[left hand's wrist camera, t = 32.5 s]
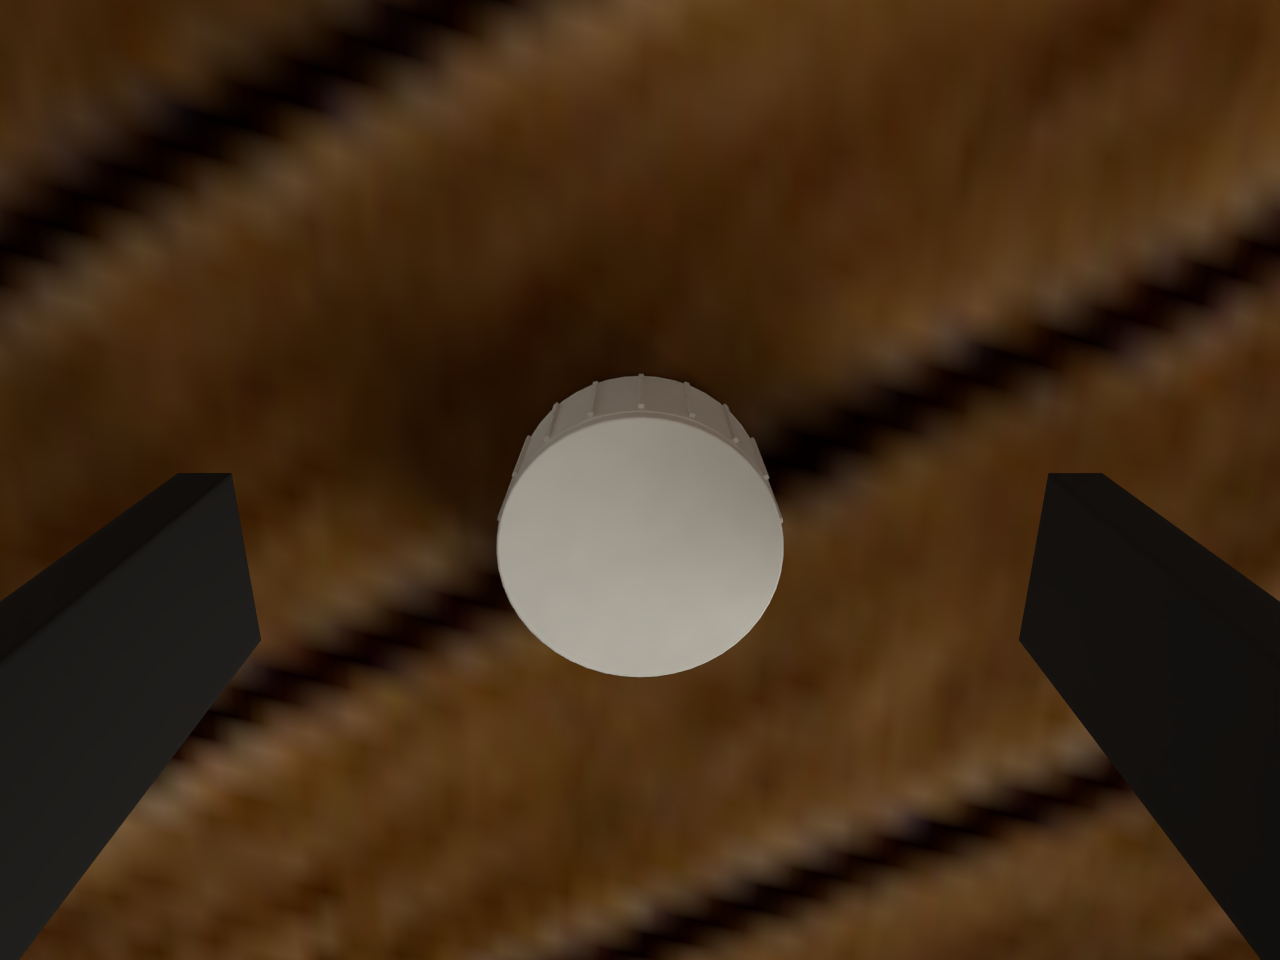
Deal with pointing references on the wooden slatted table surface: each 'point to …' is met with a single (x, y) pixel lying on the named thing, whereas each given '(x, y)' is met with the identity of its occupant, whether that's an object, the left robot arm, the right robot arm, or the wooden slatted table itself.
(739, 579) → the cap
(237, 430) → the wooden slatted table surface
